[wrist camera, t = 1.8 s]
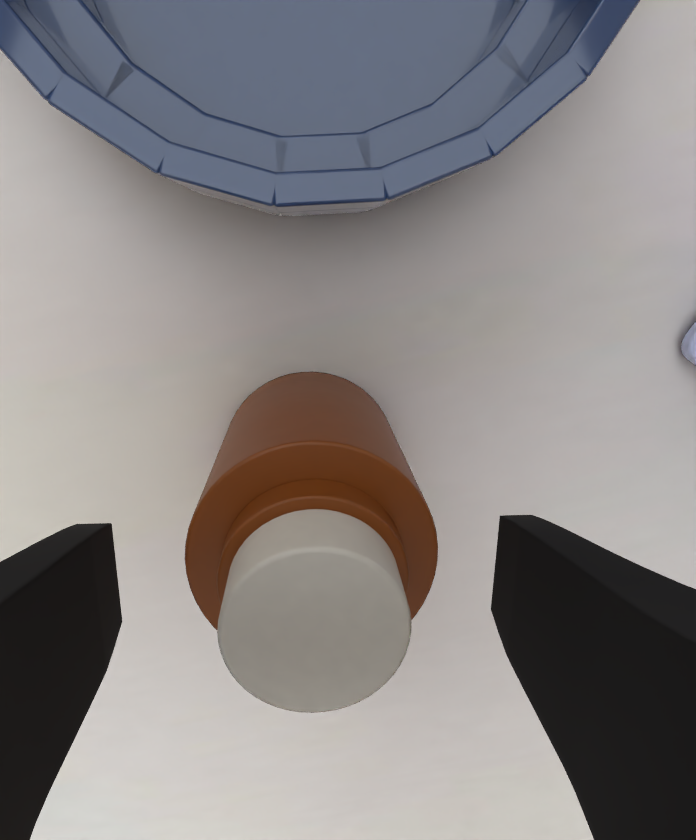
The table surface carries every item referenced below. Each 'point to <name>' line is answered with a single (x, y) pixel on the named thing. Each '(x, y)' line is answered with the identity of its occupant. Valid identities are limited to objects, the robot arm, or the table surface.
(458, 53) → the bowl
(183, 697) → the table surface
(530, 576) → the robot arm
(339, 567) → the bottle
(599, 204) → the table surface
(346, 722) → the table surface
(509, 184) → the table surface
